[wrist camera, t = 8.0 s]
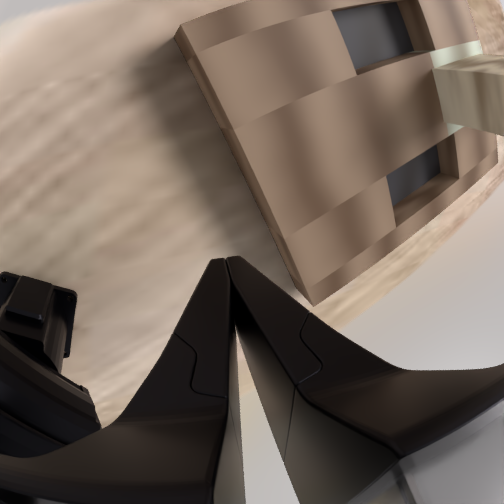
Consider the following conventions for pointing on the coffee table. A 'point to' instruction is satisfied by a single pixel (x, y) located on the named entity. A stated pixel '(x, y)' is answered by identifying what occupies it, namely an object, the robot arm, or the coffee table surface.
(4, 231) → the coffee table surface
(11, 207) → the coffee table surface
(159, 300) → the coffee table surface
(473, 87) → the birch block
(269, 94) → the board
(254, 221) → the coffee table surface
